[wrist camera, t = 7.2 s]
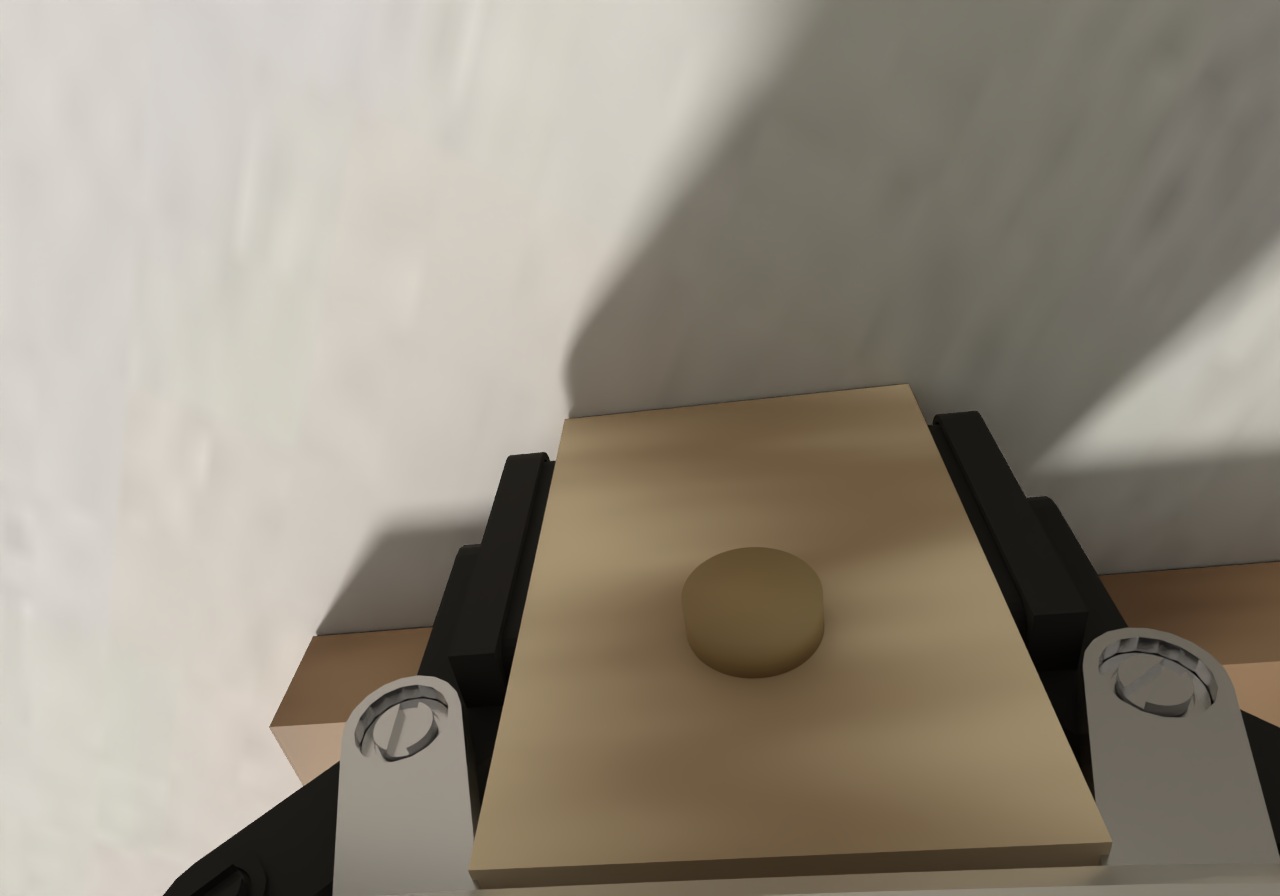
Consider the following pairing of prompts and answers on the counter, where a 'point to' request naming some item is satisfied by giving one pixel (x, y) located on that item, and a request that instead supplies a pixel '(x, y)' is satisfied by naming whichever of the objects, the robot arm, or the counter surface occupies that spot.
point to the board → (1161, 600)
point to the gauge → (770, 663)
